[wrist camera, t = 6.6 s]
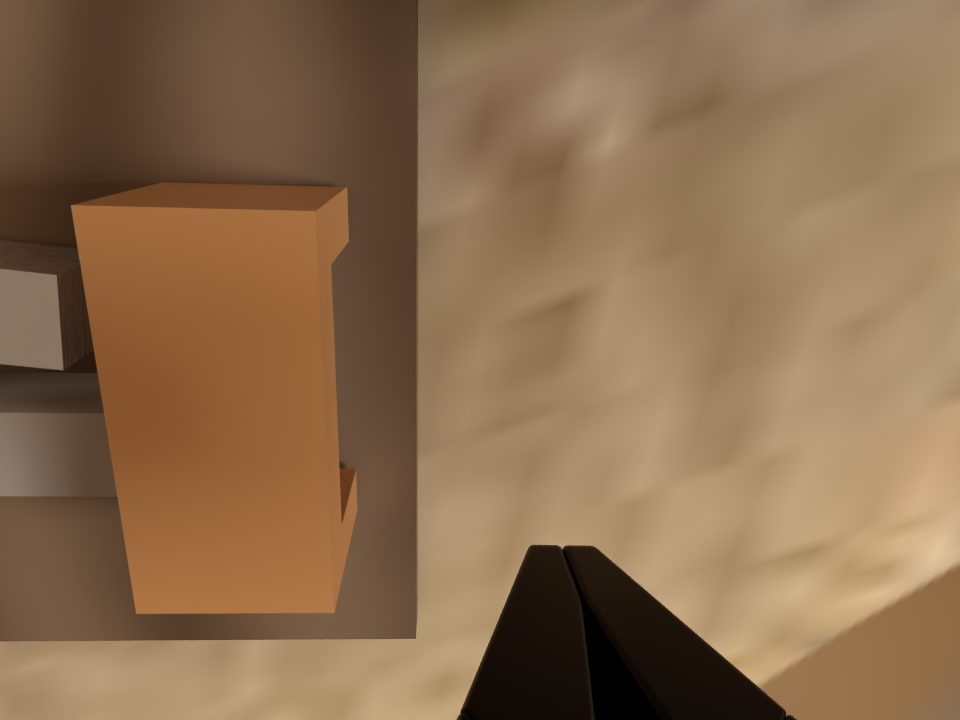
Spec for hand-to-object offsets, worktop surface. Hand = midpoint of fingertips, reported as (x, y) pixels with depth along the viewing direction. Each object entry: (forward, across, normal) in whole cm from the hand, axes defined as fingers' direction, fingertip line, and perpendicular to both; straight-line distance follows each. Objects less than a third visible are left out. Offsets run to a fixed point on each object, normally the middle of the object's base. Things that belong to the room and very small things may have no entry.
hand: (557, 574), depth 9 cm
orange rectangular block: (+9, +6, 0) cm, 10 cm away
